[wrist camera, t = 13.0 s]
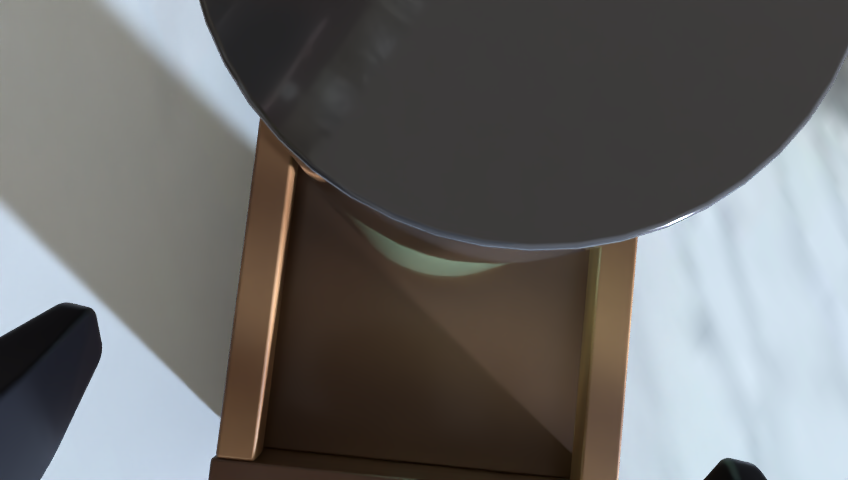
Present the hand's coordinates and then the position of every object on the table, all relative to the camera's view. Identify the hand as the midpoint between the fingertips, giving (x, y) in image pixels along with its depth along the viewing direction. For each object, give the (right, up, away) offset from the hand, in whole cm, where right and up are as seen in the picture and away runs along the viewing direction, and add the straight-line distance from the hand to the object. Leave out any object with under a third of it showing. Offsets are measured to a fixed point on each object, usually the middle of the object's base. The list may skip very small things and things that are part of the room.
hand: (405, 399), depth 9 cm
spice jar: (+1, +4, +9) cm, 10 cm away
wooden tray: (+1, +2, +12) cm, 13 cm away
